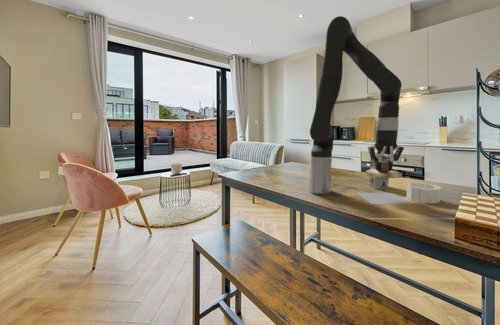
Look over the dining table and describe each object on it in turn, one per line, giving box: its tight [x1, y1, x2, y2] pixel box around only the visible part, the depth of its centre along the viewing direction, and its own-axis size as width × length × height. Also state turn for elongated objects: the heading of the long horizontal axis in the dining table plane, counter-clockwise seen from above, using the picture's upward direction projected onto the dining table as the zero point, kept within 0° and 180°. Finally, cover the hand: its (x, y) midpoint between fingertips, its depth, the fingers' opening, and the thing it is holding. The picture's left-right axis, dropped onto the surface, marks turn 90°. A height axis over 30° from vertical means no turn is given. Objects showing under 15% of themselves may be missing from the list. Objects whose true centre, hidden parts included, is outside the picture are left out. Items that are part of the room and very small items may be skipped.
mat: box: [355, 192, 415, 205], centre depth 98 cm, size 16×16×1 cm
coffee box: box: [368, 155, 390, 191], centre depth 115 cm, size 9×6×16 cm
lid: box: [365, 162, 403, 179], centre depth 97 cm, size 13×13×5 cm
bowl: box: [405, 182, 442, 204], centre depth 95 cm, size 11×11×6 cm
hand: (383, 170), depth 97 cm, fingers closed on lid, 3 cm apart
